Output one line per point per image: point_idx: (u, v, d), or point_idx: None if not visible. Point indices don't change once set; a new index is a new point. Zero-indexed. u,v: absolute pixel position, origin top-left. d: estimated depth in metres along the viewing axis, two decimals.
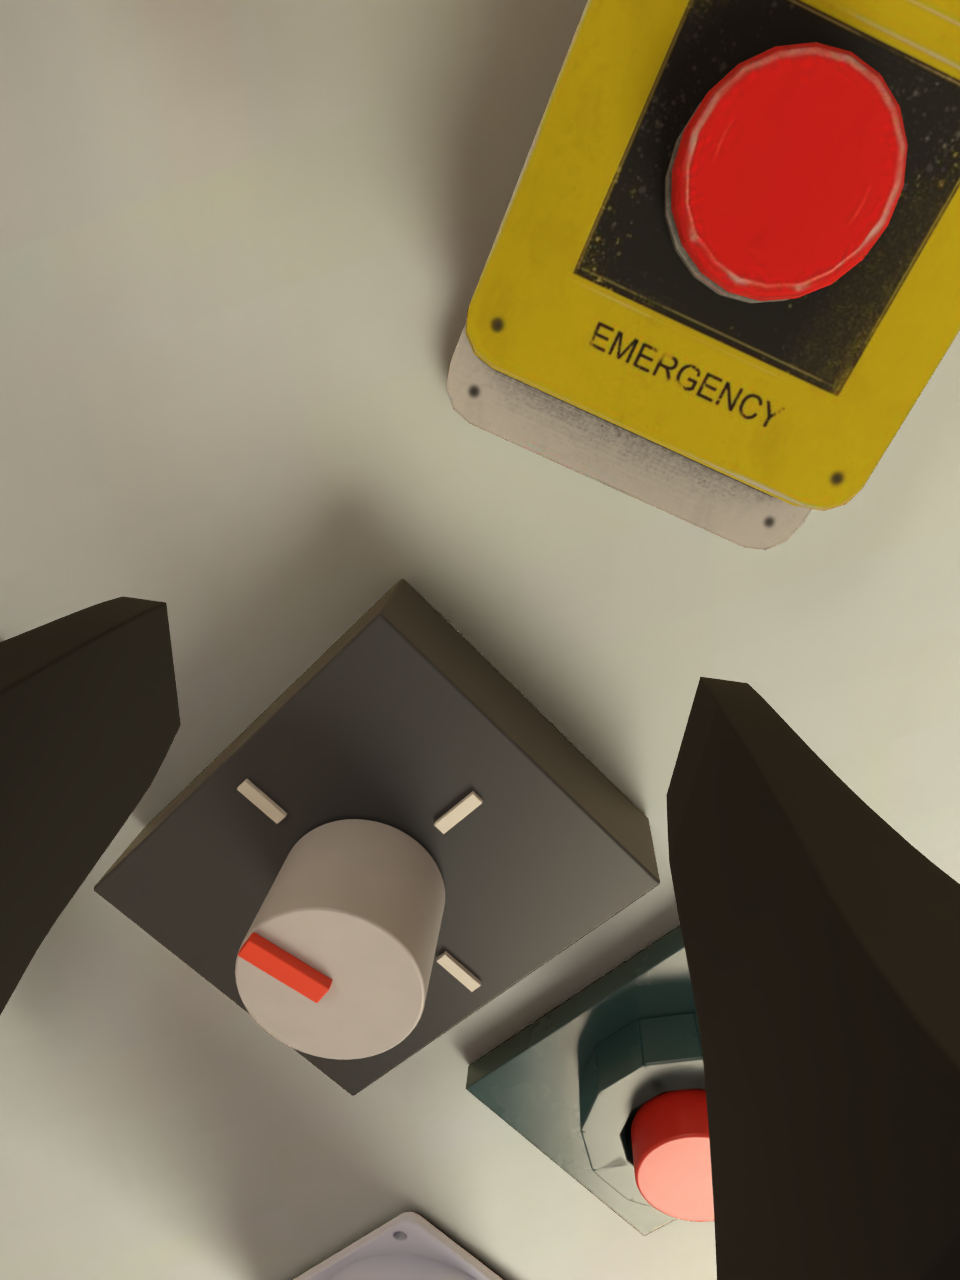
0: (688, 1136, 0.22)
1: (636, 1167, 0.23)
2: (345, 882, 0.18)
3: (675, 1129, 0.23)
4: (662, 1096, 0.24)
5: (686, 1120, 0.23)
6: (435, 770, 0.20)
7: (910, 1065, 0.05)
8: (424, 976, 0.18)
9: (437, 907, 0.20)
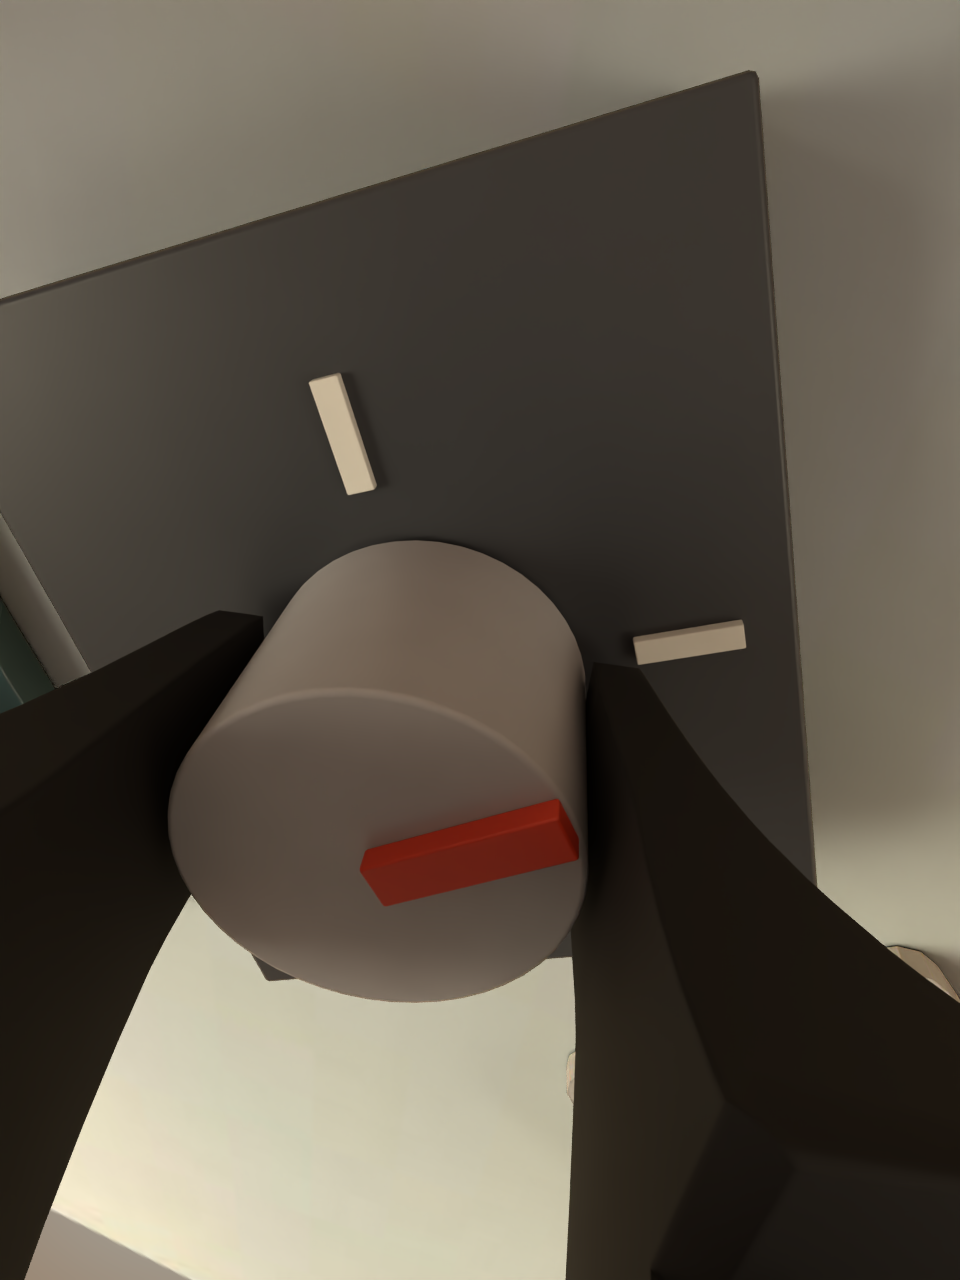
0: None
1: None
2: None
3: None
4: None
5: None
6: None
7: (673, 1027, 0.05)
8: None
9: None
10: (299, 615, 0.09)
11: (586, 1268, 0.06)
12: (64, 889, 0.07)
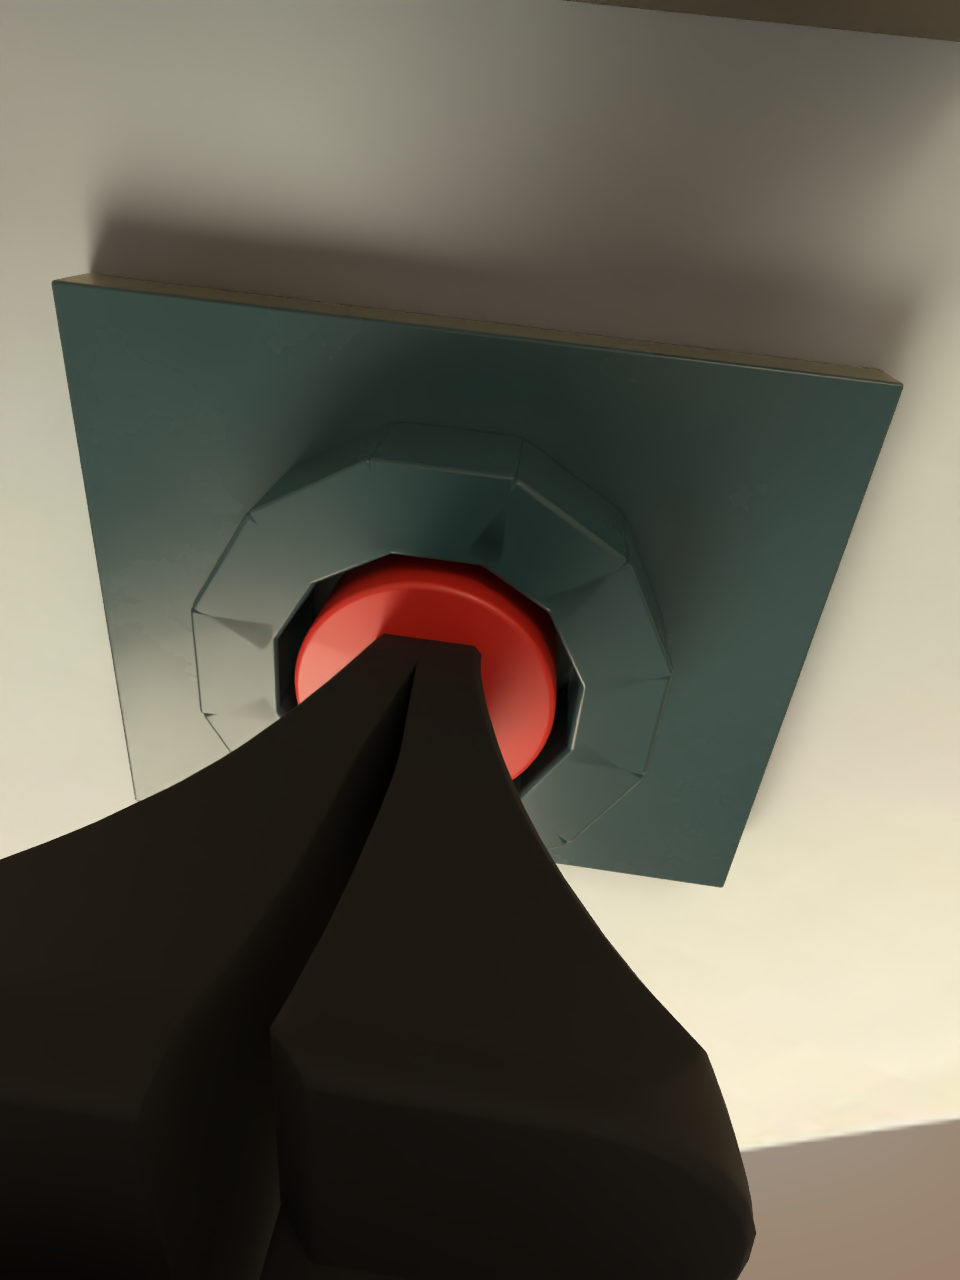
0: (499, 614, 0.10)
1: (344, 598, 0.10)
2: None
3: (478, 590, 0.10)
4: None
5: (504, 596, 0.10)
6: None
7: None
8: None
9: None
10: None
11: None
12: (319, 929, 0.07)
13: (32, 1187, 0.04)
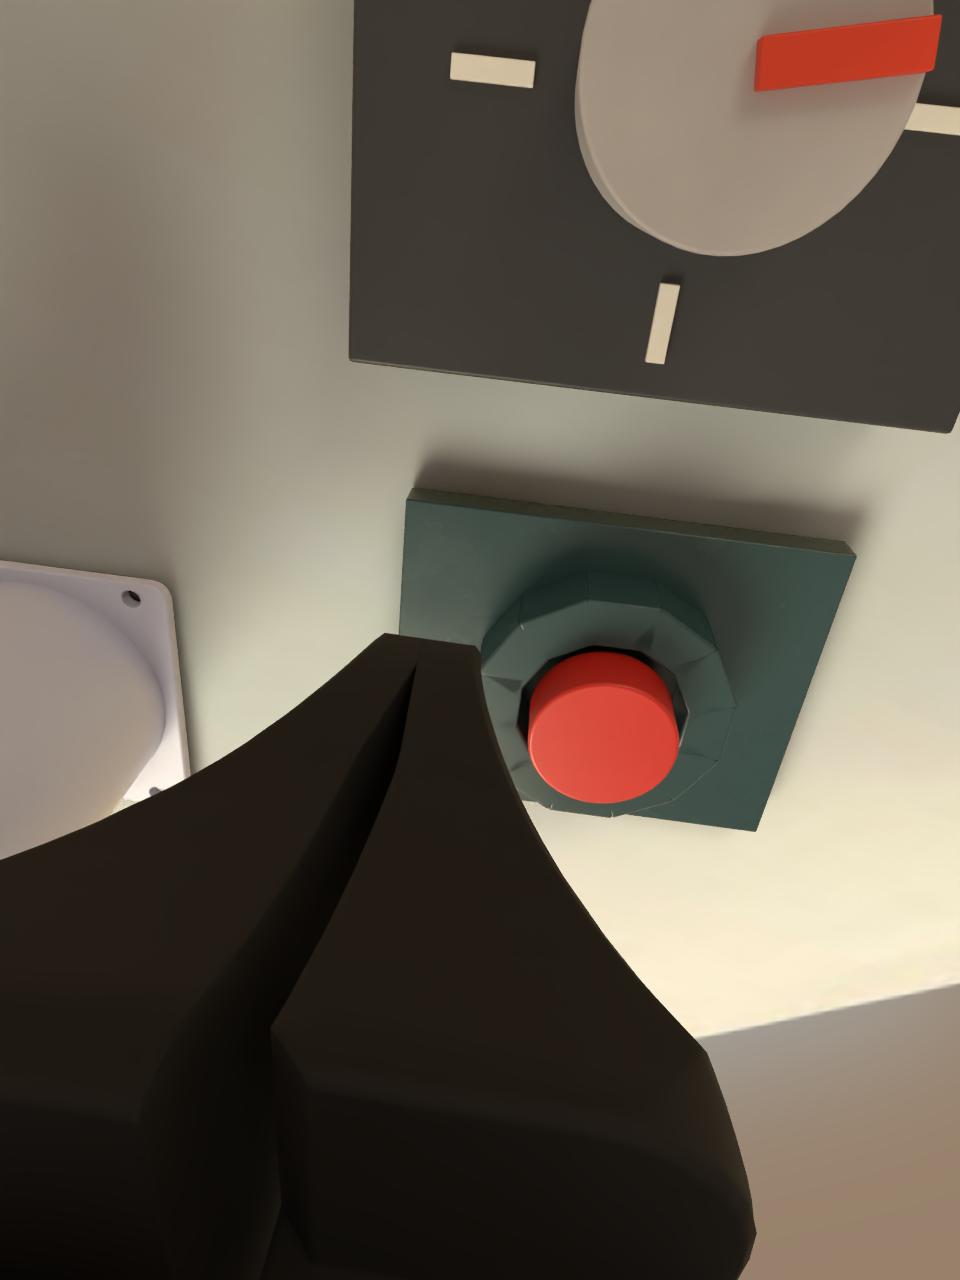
0: (652, 699, 0.18)
1: (565, 691, 0.18)
2: None
3: (639, 686, 0.18)
4: (628, 656, 0.19)
5: (651, 688, 0.19)
6: None
7: None
8: (626, 214, 0.11)
9: (621, 214, 0.13)
10: None
11: None
12: (319, 928, 0.07)
13: (32, 1186, 0.04)
